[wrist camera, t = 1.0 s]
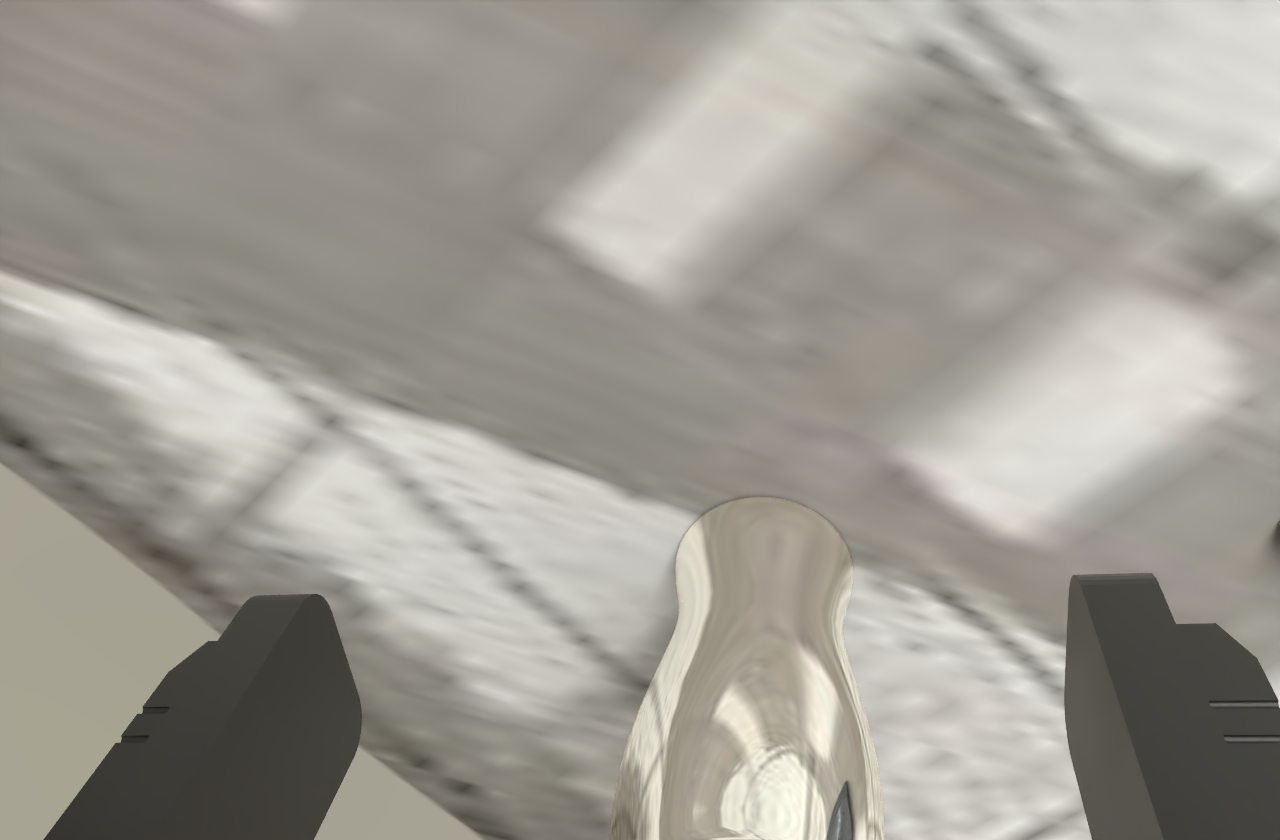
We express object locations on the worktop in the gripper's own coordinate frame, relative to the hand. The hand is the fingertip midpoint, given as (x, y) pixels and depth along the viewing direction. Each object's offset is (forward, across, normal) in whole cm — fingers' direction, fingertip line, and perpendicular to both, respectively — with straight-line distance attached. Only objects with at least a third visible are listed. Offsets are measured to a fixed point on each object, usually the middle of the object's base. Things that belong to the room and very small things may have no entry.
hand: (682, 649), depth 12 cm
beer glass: (+23, +2, +15) cm, 28 cm away
